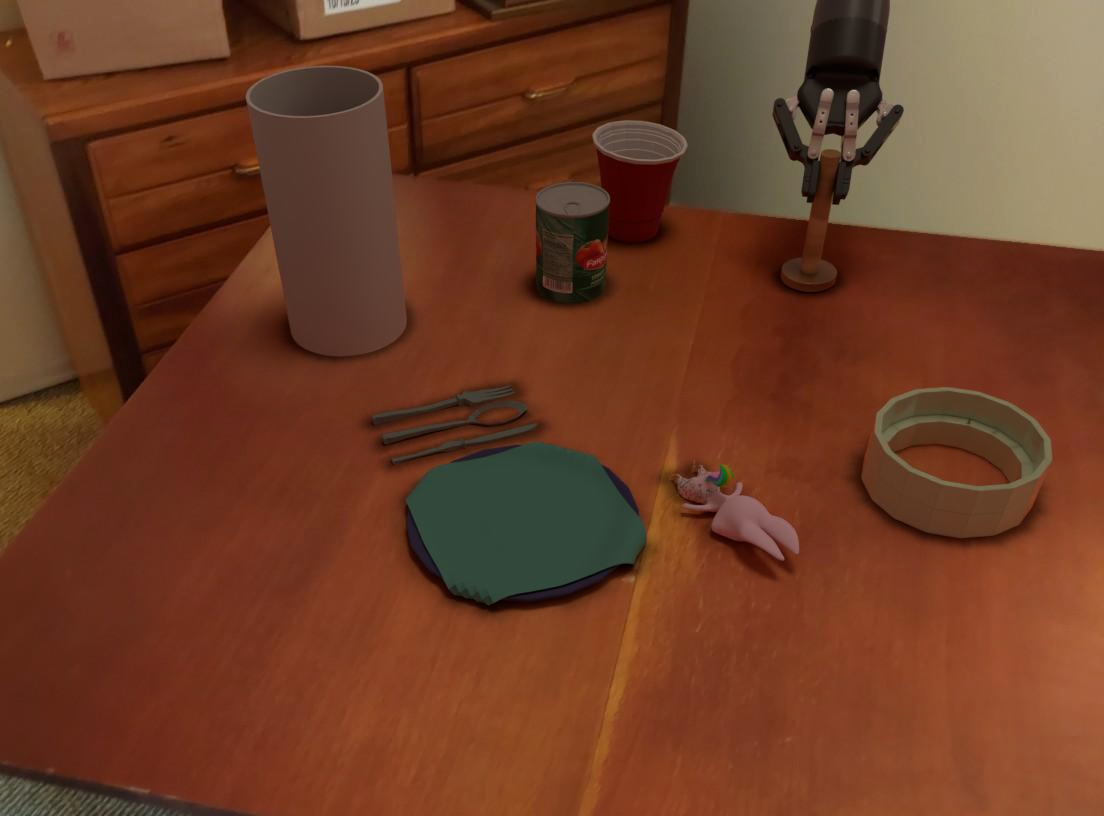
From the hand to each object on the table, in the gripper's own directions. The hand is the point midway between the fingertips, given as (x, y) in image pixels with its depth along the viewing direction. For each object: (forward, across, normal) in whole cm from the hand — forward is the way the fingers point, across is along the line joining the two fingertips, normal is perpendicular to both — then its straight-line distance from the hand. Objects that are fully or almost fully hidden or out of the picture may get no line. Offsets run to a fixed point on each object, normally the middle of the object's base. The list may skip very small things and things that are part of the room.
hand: (823, 200), depth 110 cm
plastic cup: (+1, -21, +15) cm, 26 cm away
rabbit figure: (+36, -5, -21) cm, 42 cm away
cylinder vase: (+19, -48, -4) cm, 52 cm away
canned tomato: (+11, -26, +5) cm, 28 cm away
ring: (+30, +13, -15) cm, 36 cm away
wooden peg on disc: (+6, 0, +8) cm, 10 cm away
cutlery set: (+36, -25, -21) cm, 49 cm away
